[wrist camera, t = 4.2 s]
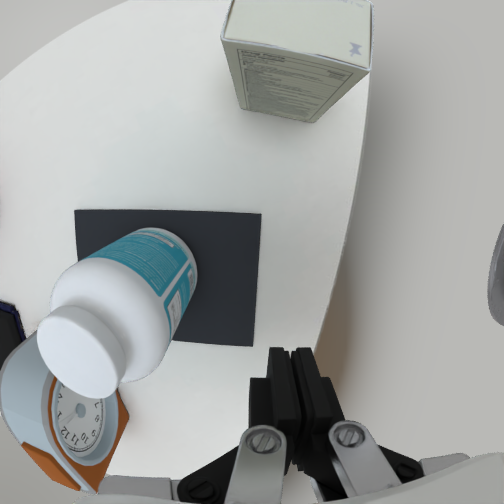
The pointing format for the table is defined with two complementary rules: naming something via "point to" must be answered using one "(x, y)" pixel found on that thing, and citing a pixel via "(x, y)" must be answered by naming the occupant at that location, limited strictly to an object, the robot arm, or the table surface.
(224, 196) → the table surface
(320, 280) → the table surface
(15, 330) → the laptop
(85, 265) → the pill bottle
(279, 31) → the cosmetic box
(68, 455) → the alarm clock
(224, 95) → the table surface
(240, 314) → the mat
